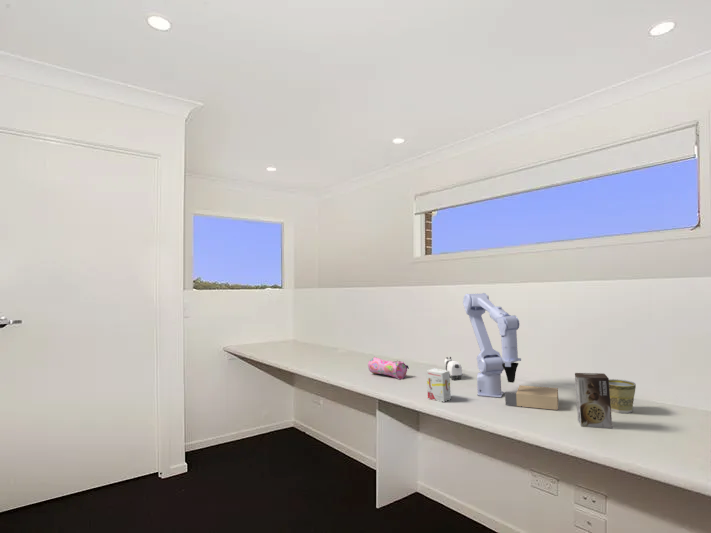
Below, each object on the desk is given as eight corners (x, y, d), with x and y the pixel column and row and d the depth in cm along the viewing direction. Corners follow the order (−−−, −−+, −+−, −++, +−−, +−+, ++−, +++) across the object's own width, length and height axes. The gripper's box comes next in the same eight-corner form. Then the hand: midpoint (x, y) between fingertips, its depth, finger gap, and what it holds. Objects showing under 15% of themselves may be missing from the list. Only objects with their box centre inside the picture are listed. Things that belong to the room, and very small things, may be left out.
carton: (517, 406, 159) (516, 392, 159) (520, 397, 169) (519, 385, 170) (557, 410, 152) (557, 396, 153) (558, 401, 163) (557, 388, 163)
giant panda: (463, 380, 202) (462, 360, 202) (452, 381, 201) (451, 361, 201) (451, 373, 216) (450, 355, 217) (441, 374, 215) (440, 355, 216)
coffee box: (607, 422, 138) (604, 373, 139) (612, 428, 132) (609, 377, 133) (577, 420, 141) (574, 372, 142) (580, 426, 135) (577, 376, 136)
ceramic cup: (626, 416, 143) (625, 387, 143) (598, 409, 151) (596, 381, 152) (648, 410, 149) (646, 381, 149) (619, 403, 157) (618, 376, 158)
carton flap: (505, 404, 160) (505, 392, 160) (505, 404, 160) (505, 392, 160) (557, 409, 152) (557, 396, 152) (557, 409, 152) (557, 396, 152)
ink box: (427, 398, 173) (425, 369, 174) (434, 396, 176) (433, 368, 177) (443, 402, 167) (442, 372, 167) (451, 400, 170) (450, 370, 170)
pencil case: (409, 377, 212) (408, 359, 212) (397, 380, 206) (397, 362, 206) (379, 371, 228) (378, 355, 228) (367, 374, 221) (366, 357, 222)
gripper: (518, 350, 154) (520, 387, 154) (522, 344, 167) (524, 378, 167) (498, 349, 158) (500, 385, 157) (503, 343, 171) (505, 377, 170)
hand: (511, 382), depth 162 cm, fingers closed
